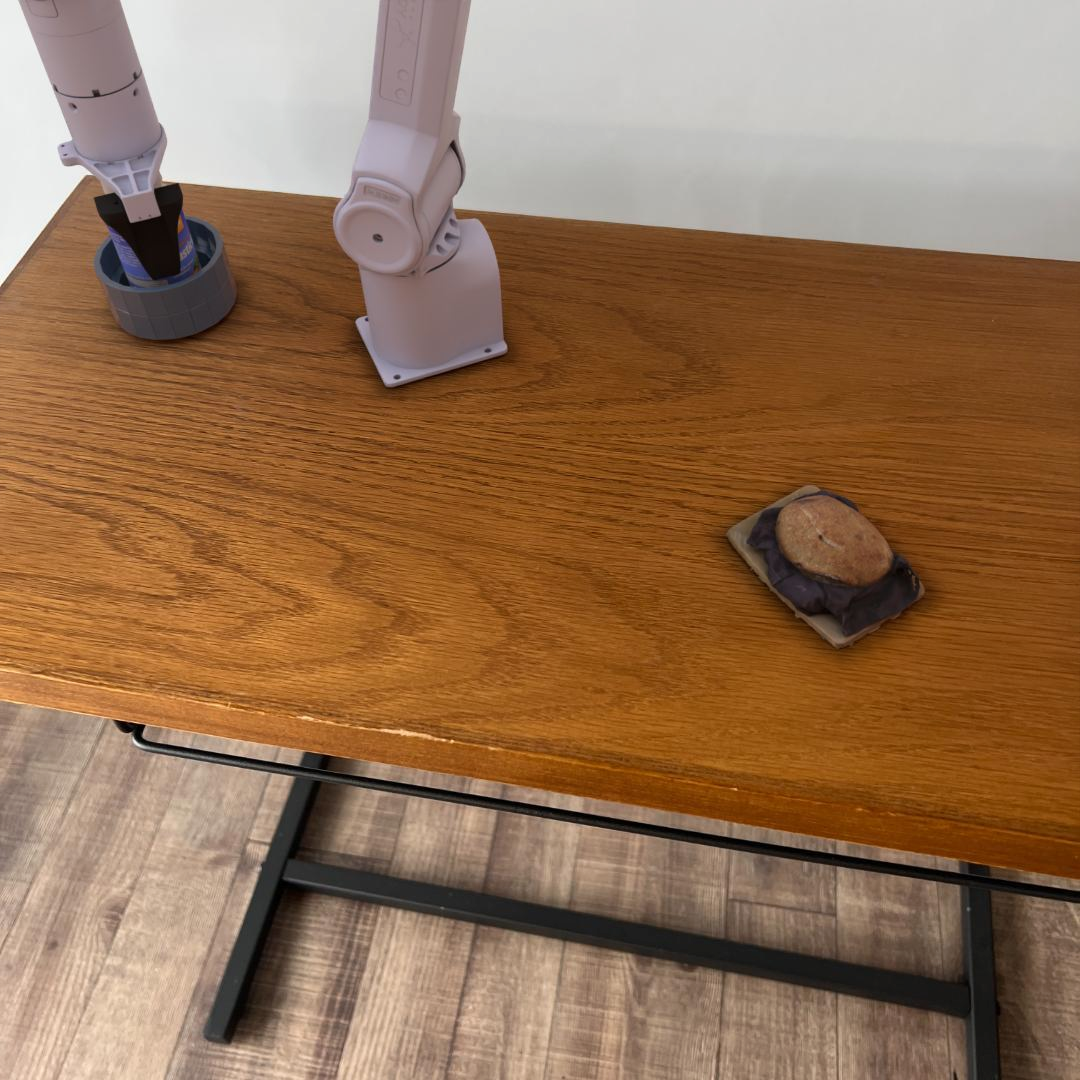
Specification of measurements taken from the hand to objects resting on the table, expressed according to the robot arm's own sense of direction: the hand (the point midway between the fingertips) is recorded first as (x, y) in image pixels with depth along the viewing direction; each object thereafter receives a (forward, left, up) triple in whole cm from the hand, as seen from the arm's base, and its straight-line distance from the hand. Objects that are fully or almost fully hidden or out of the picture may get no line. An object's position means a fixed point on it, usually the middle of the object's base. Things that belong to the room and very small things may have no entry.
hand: (158, 251), depth 80 cm
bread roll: (-32, +42, -5) cm, 53 cm away
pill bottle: (0, 0, -3) cm, 3 cm away
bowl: (0, 0, -5) cm, 5 cm away
